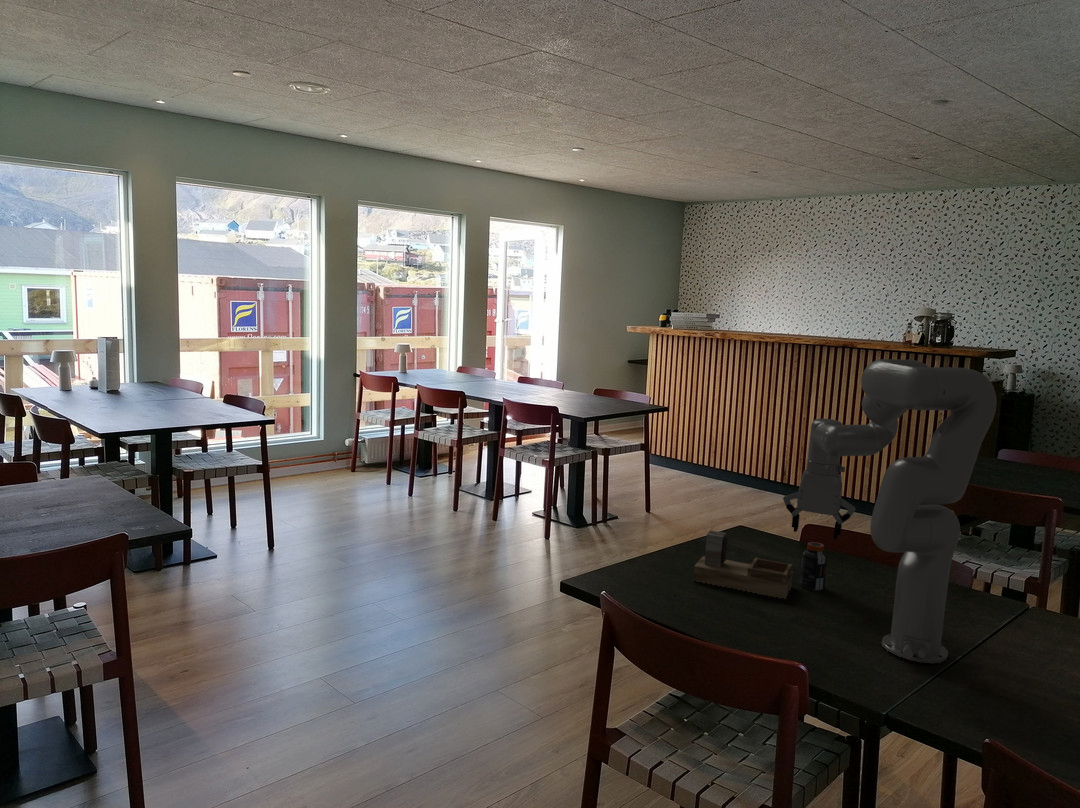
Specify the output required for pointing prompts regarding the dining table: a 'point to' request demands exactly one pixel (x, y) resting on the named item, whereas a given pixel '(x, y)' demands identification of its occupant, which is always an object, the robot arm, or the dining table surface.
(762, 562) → the wooden holder
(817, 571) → the pill bottle
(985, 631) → the dining table surface
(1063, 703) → the dining table surface
